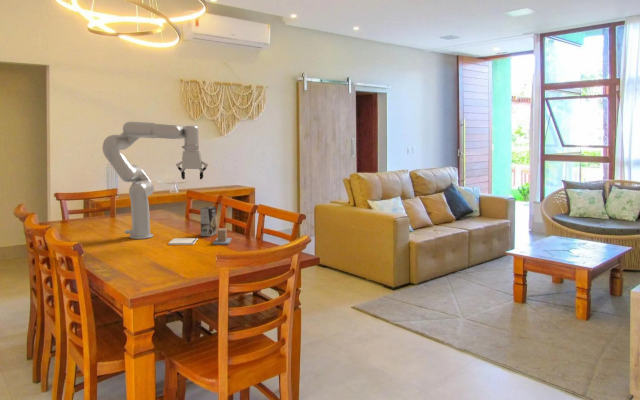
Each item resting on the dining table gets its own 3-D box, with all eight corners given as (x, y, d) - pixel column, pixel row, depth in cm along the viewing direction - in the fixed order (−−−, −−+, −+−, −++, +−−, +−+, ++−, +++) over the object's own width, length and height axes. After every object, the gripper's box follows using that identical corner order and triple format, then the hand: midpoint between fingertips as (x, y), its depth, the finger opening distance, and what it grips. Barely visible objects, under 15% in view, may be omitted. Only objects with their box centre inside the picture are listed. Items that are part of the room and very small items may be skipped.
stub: (213, 244, 260) (212, 231, 259) (217, 239, 272) (216, 227, 271) (228, 244, 261) (228, 231, 260) (231, 239, 273) (231, 227, 272)
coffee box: (211, 236, 281) (210, 208, 279) (200, 236, 282) (199, 208, 280) (217, 233, 290) (216, 206, 288) (207, 233, 291) (206, 206, 289)
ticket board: (168, 244, 260) (168, 242, 259) (174, 239, 271) (174, 237, 271) (193, 244, 260) (193, 242, 260) (198, 239, 272) (198, 237, 272)
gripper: (174, 148, 267) (175, 179, 269) (206, 148, 268) (206, 179, 270) (177, 148, 275) (178, 178, 277) (208, 148, 275) (209, 178, 277)
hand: (192, 179), depth 273 cm, fingers open, 9 cm apart
